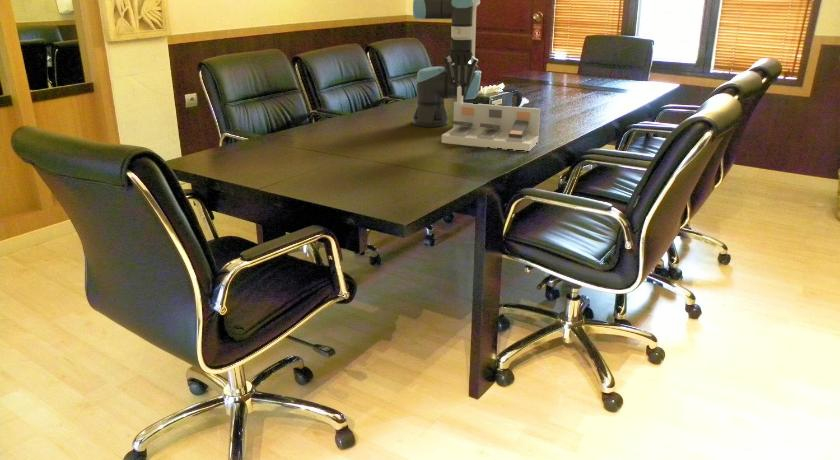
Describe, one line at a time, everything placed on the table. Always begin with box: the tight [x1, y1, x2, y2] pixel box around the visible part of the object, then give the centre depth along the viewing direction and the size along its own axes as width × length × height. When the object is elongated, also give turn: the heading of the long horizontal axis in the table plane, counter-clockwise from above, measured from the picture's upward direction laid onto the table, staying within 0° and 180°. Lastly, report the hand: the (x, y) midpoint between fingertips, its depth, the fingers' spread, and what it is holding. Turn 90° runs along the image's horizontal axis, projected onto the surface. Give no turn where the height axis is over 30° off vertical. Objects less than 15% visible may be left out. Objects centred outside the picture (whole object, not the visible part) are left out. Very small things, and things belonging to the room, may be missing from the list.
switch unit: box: [441, 101, 541, 152], centre depth 242 cm, size 34×14×13 cm, turn 68°
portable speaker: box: [502, 87, 523, 107], centre depth 298 cm, size 25×10×10 cm, turn 115°
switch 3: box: [509, 120, 529, 138], centre depth 238 cm, size 5×10×1 cm, turn 158°
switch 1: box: [451, 120, 473, 126], centre depth 246 cm, size 5×10×1 cm, turn 158°
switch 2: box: [480, 123, 500, 129], centre depth 242 cm, size 5×10×1 cm, turn 158°
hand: (460, 104), depth 239 cm, fingers closed
